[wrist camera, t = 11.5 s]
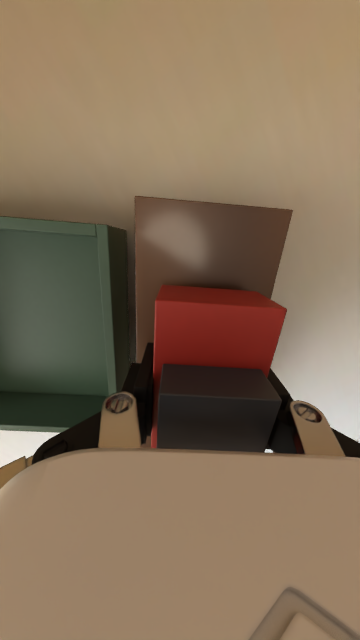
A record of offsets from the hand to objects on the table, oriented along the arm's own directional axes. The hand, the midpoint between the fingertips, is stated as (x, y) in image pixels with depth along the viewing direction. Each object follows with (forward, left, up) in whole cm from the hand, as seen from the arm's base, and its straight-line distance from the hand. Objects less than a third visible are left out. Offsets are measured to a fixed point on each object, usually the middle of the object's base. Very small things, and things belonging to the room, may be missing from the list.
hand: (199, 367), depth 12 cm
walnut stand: (0, 0, -5) cm, 5 cm away
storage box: (-13, 0, -5) cm, 14 cm away
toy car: (0, 0, -1) cm, 1 cm away
